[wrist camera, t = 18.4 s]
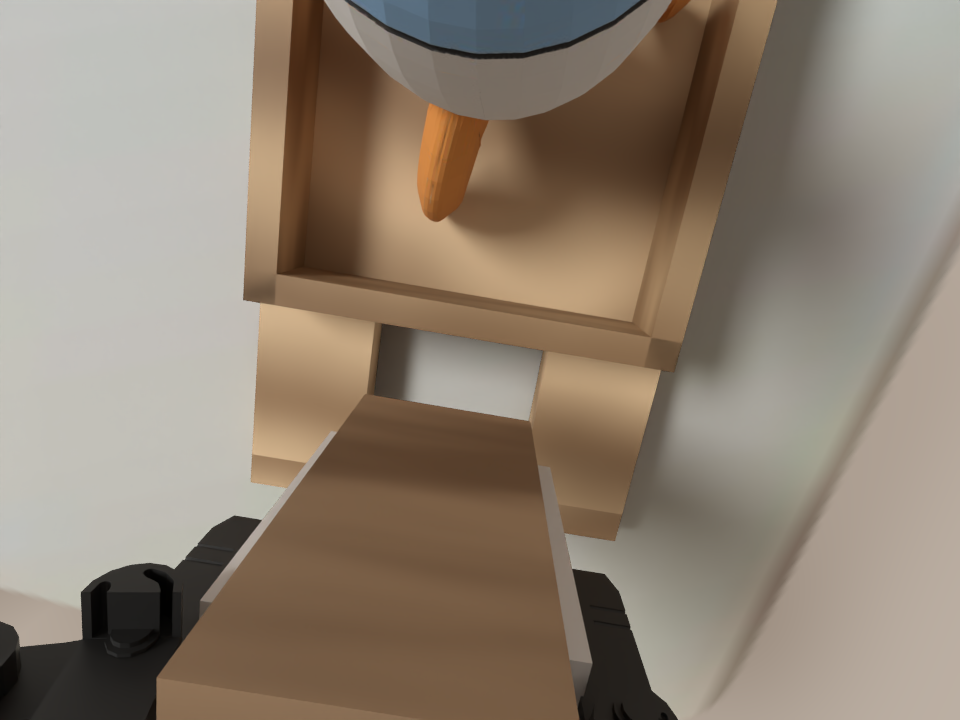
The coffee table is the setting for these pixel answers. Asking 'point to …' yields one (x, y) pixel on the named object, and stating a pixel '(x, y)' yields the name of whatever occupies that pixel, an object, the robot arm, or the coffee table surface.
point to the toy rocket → (491, 66)
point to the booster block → (391, 586)
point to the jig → (489, 236)
